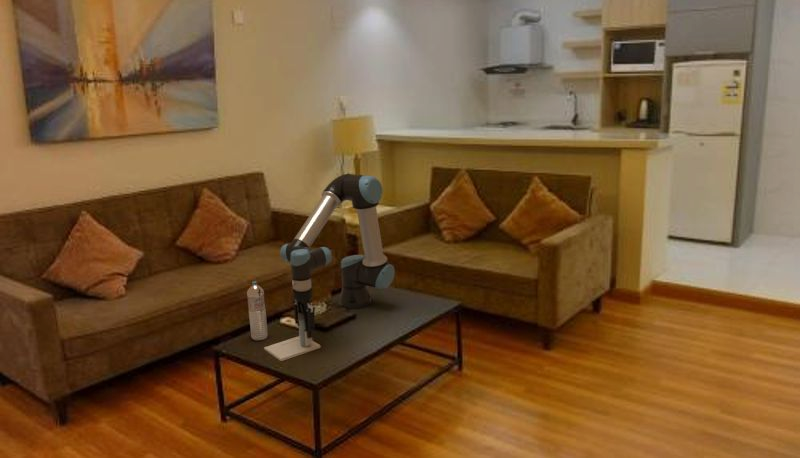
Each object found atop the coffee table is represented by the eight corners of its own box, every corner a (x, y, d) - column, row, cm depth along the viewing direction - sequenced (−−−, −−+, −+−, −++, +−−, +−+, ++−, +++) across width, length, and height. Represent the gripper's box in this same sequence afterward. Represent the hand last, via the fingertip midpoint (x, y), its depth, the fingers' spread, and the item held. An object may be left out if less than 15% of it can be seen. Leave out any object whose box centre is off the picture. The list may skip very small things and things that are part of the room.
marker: (307, 341, 257) (304, 310, 253) (313, 345, 254) (310, 313, 250) (298, 345, 254) (295, 313, 250) (304, 348, 251) (301, 316, 247)
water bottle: (251, 342, 261) (246, 285, 254) (251, 335, 267) (245, 280, 261) (268, 339, 262) (263, 283, 256) (267, 333, 269) (262, 278, 263)
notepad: (302, 337, 264) (302, 334, 264) (320, 347, 254) (320, 345, 253) (264, 349, 253) (264, 347, 253) (281, 361, 243) (280, 358, 242)
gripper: (283, 285, 252) (287, 339, 258) (305, 296, 239) (308, 352, 245) (299, 281, 257) (303, 334, 262) (321, 291, 244) (325, 346, 249)
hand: (306, 342), depth 254 cm, fingers closed on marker, 4 cm apart
